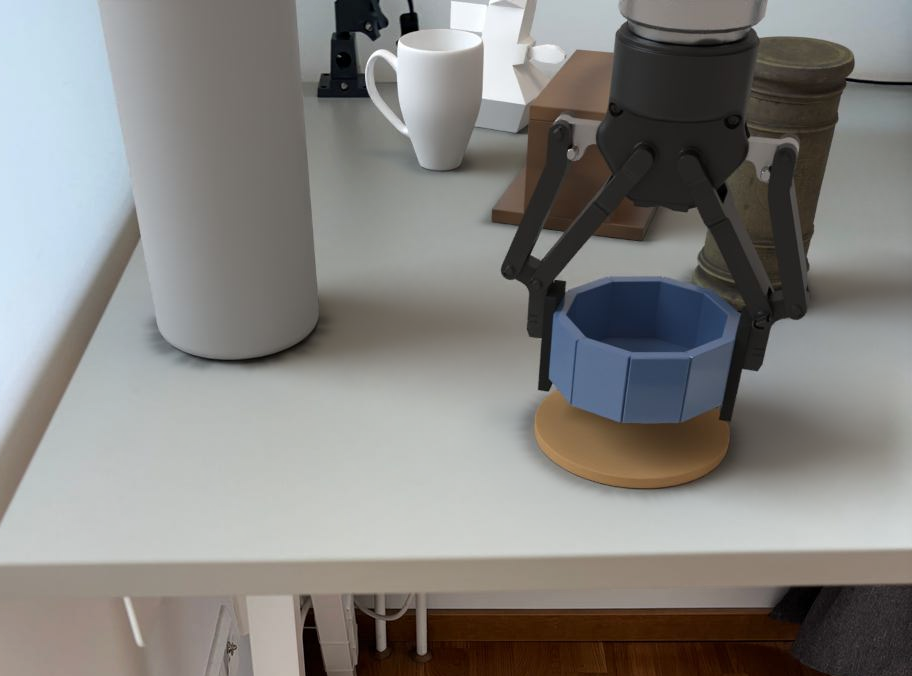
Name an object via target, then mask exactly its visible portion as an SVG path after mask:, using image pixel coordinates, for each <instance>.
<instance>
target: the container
mask: <svg viewBox="0 0 912 676" xmlns="http://www.w3.org/2000/svg"><path fill="white" fill-rule="evenodd" d="M759 39H760V44H759V50H758V55H757V61H756V66H755V72H754V77H753V82H752V88H751V93H750V99H749V104H748V110H747V117H746V119H747V127H748V130H749V133H750V136H752V137H762V138H772V139H780V138H781V137H782V136H783V135H784V134H786V133H793V134H796V135H797V136H798V138H799V140H800V147H799V152H798V157H797V161H796V166H795V171H794V175H793V178H794V185H795V192H796V199H797V206H798V212H799V219H800V226H801V233H802V240H803V247H804V254H805V261H806V267H807V274H808V273H809V271H810V262H809V259H808V253H809V249H810V246H811V240H812V238H813V236H814V233H815V223H814V222H815V218H816V213H817V209H818V205H819V199H820V196H821V195H820V194H821V189H822V185H823V181H824V177H825V173H826V169H827V165H828V161H829V157H830V151H831V147H832V143H833V140H834V135H835V130H836V125H837V124H838V122H839V120H840V118H839V108H840V104H841V100H842V99H841V98H842V95H843V93H844V90H845V89H846V88H847V85H848V84H847V79H846V78H848V77H850V76H851V74H852V73H853V71H854V70H855V65H856V60H855V54H854V52H853V51H852V50H851V49H850V48H849V47H847V46H845V45H843V44H840V43H837V42H834V41H830V40H826V39H822V38H821V39H820V38H814V37H807V36H789V35H788V36H787V35H785V36H781V35H779V36H776V35H775V36H763V37H759ZM726 181H727V183H728V185H729V188H730V190H731V192H732V195H733V198H734V203H735V206H736V208H737V211H738V213H739V215H740V217H741V219H742V221H743V224H744V226H745V228H746V230H747V232H748V235H749V237H750V239H751V241H752V243H753V246H754V248H755V250H756V252H757V254H758V257H759V259H760V261H761V263H762V265H763V268H764V270H765V272H766V274H767V276H768V279H769V281H770V283H771V285H772V287H773V289H774V292H775V291H780V290H782V287H781V281H780V274H779V268H778V262H777V256H776V249H775V243H774V237H773V231H772V224H771V218H770V212H769V206H768V184H769V183H764V182H761V181H760V180H759V179H758V178H757V175H756V168H755V165H754V164H753V163H752V162H750V161H747V160H745V161H744V162H743V164H742V165H741V166H740V167H739V168H738V169H737V170H736V171H735V172H734V173H733V174H732V175H731V176H730V177H729V178H728V179H727V180H726ZM696 261H697V265H696V266H695V268H694V270H693V273H692V279H691V280H692V285H696V286H700V287H703V288H707V289H710V290H712V291H714V292H715V293H717V294H718V295H719V296H720V297H721V298H722V299H724V300H725V301H726V302H727V303H728V304H729V305H731V306H732V307H733V308H734V309H735V310H736V311H738V312H742V308H743V306H746V305H745V303H744V301H743V299H742V297H741V294H740V292H739V290H738V288H737V286H736V284H735V282H734V280H733V277H732V275H731V273H730V271H729V269H728V267H727V265H726V263H725V261H724V258H723V256H722V254H721V252H720V250H719V248H718V246H717V244H716V241H715V239H714V237H713V235H712V233H711V231H710V229H709V228H707V229H706V235H705V240H704V245H703V246H702V248H701V250H699V252H698V254H697V258H696Z"/></svg>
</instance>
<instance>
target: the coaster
mask: <svg viewBox="0 0 912 676" xmlns="http://www.w3.org/2000/svg"><path fill="white" fill-rule="evenodd" d="M720 411H721V410H719V409H718V407H716V408H714V409H711V410H709V411H707V412H705V413H702V414H700V415H698V416H695V417H693V418H691V419H689V420H686V421H684V422H680V421H679V423H656V424H642V423H623V422H622V421H621V422H617V421H614V420H611V419H608V418H605V417H602V416H599V415H597V414H594V413H591V412H588V411H585V410H583V409H580V408H577V407H574V406H572V404H571V405H570V404H569V403H568V402H567V401H566V399H565V398H564V397H563V396H562V394H561V393H560V392H559V391H558V389H555V390H554V391H552V392H551V393H550V394H549V395H547V396H546V397H545V398H544V399H543V400H542V401H541V402H540V404H539V406H538V407H537V410H536V412H535V415H534V427H533V431H534V437H535V441H536V442H537V445H538V446H539V448H540V449H541V451H542V452H543V453H544V454H545V455H546V456H547V457H548V459H550V460H551V461H552V462H553V463H555V464H556V465H557V466H559V467H561V468H562V469H564V470H565V471H568V472H569V473H572V474H573V475H575V476H578V477H581V478H583V479H585V480H588V481H591V482H596V483H599V484H603V485H608V486H613V487H619V488H628V489H629V488H630V489H659V488H667V487H674V486H678V485H683V484H687V483H690V482H692V481H695V480H697V479H698V480H699V479H700V478H701V477H703V476H706V475H707V474H709V473H710V472H712V471H713V470H714V469H716V468H717V467H718V465H720V464H721V462H722V461H723V460H724V458H725V457H726V454H727V451H728V449H729V445H730V437H731V433H730V426H729V423H728V421H722V420H719V416H720Z"/></svg>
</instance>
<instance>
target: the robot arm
mask: <svg viewBox="0 0 912 676" xmlns="http://www.w3.org/2000/svg"><path fill="white" fill-rule="evenodd" d="M768 1H769V0H618V5H617V9H618V11H619V13H620V15H621V16H622V17H623V18H624V19H626V21H625V22H623V23H622V24H620V27H619V28H618V29H617V30H616V31H615V36H614V44H613V53H614V54H613V64H612V73H611V83H610V93H609V102H608V108H607V112H606V114H605V116H604V118H603V120H602V121H596V120H587V119H578V117H577V115H576V114H575V113H574V112H572V111H569V110H568V111H564V112H562V113H561V114H560V116H559V117H558V118H557V119H556V121H555V122H554V123H553V125H552V126H551V128H550V129H549V132H548V143H547V156H546V165H545V167H544V169H543V172H542V174H541V176H540V179H539V181H538V183H537V186H536V188H535V190H534V192H533V195H532V197H531V199H530V202H529V204H528V206H527V209H526V211H525V213H524V215H523V218H522V220H521V222H520V225H518V227H517V230H516V231H515V234H514V237H513V239H512V241H511V244H510V246H509V248H508V250H507V252H506V255H505V257H504V259H503V261H502V264H501V266H500V274H501V276H502V277H503V279H505V280H508V281H514V280H516V281H517V282H520V283H521V284H523V285H524V286H525V287H526V289H527V291H528V303H527V319H526V320H527V321H526V331H527V334H528V337H529V338H535V339H541V341H540V353H539V355H540V356H539V367H538V368H539V369H538V370H539V371H538V380H537V391H541V392H546V393H550V390H551V388H552V386H553V385H554V384H553V383H552V382H551V381H550V379H549V367H550V353H551V340H552V327H553V315H554V313H555V311H556V310H557V308H558V306H559V304H560V302H561V300H562V299H563V297H564V295H565V293H566V291H567V290H566V289H567V280H561V279H556V278H557V277H558V276H560V274H561V273H562V271H563V270H564V269H565V268H566V267H567V266H568V264H569V263H570V262H571V261H572V260H573V258H574V257H575V256H576V255H577V254H578V252H579V251H580V250H581V249H582V248H583V247H584V245H585V244H586V243H587V242H588V240H590V238H591V237H592V236H593V233H594V232H595V231H596V230H597V229H598V228H599V226H600V225H601V224H602V223H603V222H604V220H605V219H606V218H607V217H608V216H609V215H610V214H611V213H612V212H613V211H614V210H615V209H616V207H617V206H618V205H619V204H620V203H621V202H622V200H623V199H624V198H625V197H626V198H627V199H629V200H630V201H632V202H634V206H637V207H645V208H648V207H655V206H658V207H663V208H666V209H668V210H670V211H673V212H678V213H679V212H680V213H688V212H689V210H693V209H697V212H698V214H699V216H700V218H701V220H702V222H703V224H704V226H705V227H706V228H707V229H708V228H709V229H710V231H711V233H712V235H713V237H714V239H715V241H716V244H717V246H718V248H719V250H720V252H721V254H722V256H723V258H724V261H725V263H726V265H727V267H728V269H729V271H730V273H731V275H732V277H733V280H734V282H735V284H736V286H737V288H738V290H739V292H740V294H741V297H742V299H743V301H744V303H745V305H746V306H743V308H742V311H740V319H739V323H738V327H737V332H736V339H735V344H734V349H733V354H732V359H731V364H730V369H729V374H728V379H727V384H726V389H725V394H724V399H723V403H722V404H721V405H720V410H719V411H720V416H719V420H722V421H727V423H728V422H729V423H730V422H732V419H733V413H734V409H735V405H736V402H737V396H738V391H739V387H740V383H741V378H742V373H743V370H744V371H751V372H752V371H753V372H759V370H760V369H761V368H762V366H763V364H764V361H765V356H766V351H767V346H768V343H769V338H770V333H771V329H772V327H773V325H774V324H775V323H777V322H778V321H781V320H785V319H789V320H792V321H798V320H801V319H803V318H804V317H806V315H807V312H808V308H809V307H808V306H809V301H810V296H811V288H810V284H809V283H810V282H809V275H808V273H807V267H806V261H805V254H804V247H803V240H802V233H801V226H800V219H799V212H798V206H797V199H796V192H795V185H794V178H793V175H794V171H795V166H796V161H797V157H798V152H799V147H800V140H799V138H798V136H797V135H796V134H793V133H786V134H784V135H783V136H782V137H781V138H780V139H772V138H762V137H752V136H750V133H749V130H748V127H747V119H746V117H747V110H748V104H749V99H750V93H751V88H752V82H753V77H754V72H755V66H756V61H757V55H758V50H759V44H760V39H759V38H760V37H759V36H758V33H757V31H756V30H755V29H754V28H753V27H755V26H756V25H758V24H759V23H760V22H761V21H762V20H763V19H764V18H765V17H766V13H767V12H766V11H767V8H768V7H767V6H768V3H769V2H768ZM592 144H597V147H598V149H599V151H600V153H601V155H602V157H603V158H604V160H605V162H606V164H607V166H608V168H609V169H610V171H611V173H612V174H611V176H610V177H609V178H608V179H607V181H606V182H605V183H604V185H603V186H602V187H601V189H600V190H599V191H598V192H597V193H596V195H595V196H594V197H593V198H592V200H591V201H590V202H589V203H588V204H587V206H586V207H585V208H584V209H583V210H582V212H581V213H580V214H579V215H578V217H577V218H576V219H575V220H574V221H573V223H572V224H571V225H570V226H569V227H568V229H567V230H566V231H563V233H562V235H560V237H559V238H558V239H557V241H556V242H555V243H554V244H553V246H552V247H551V248H550V249H549V251H547V253H546V254H545V255H544V257H543V258H541V259H539V258H537V257H535V256H534V255H532V253H533V251H534V249H535V246H536V244H537V242H538V240H539V237H540V235H541V233H542V231H543V229H544V228H543V226H544V224H545V222H546V220H547V217H548V215H549V213H550V211H551V209H552V206H553V204H554V202H555V200H556V198H557V195H558V193H559V191H560V189H561V187H562V184H563V182H564V180H565V178H566V176H567V173H568V171H569V169H570V167H571V164H572V161H577V160H579V159H581V157H582V156H583V155H584V153H585V151H586V149H587V147H588V146H589V145H592ZM745 160H747V161H750V162H752V163H753V164H754V165H755V168H756V175H757V178H758V179H759V180H760V181H761V182H764V183H769V184H768V206H769V212H770V218H771V224H772V231H773V237H774V243H775V249H776V256H777V262H778V268H779V274H780V281H781V287H782V290H780V291H775V292H774V289H773V287H772V285H771V283H770V281H769V279H768V276H767V274H766V272H765V270H764V268H763V265H762V263H761V261H760V259H759V257H758V254H757V252H756V250H755V248H754V246H753V243H752V241H751V239H750V237H749V235H748V232H747V230H746V228H745V226H744V224H743V221H742V219H741V217H740V215H739V213H738V211H737V208H736V206H735V203H734V198H733V195H732V192H731V190H730V188H729V185H728V183H727V181H726V180H727V179H728V178H729V177H730V176H731V175H732V174H733V173H734V172H735V171H736V170H737V169H738V168H739V167H740V166H741V165H742V164H743V162H744V161H745Z"/></svg>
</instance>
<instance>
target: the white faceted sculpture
mask: <svg viewBox="0 0 912 676" xmlns="http://www.w3.org/2000/svg"><path fill="white" fill-rule="evenodd" d="M537 3H538V0H489V2H488V5H487V4H481V3H473V2H464V1H457V0H450V21H449V22H450V27H449V29H451V30H460V31H466V32H474V33H481V36H480V38H481V39H482V40H483V44H484V64H483V92H482V101H481V106H480V111H479V114H478V117H477V121H476V124H475V126H474V127H476V128H483V129H487V130H494V131H501V132H506V133H507V132H508V133H515V134H517V133H519V132H520V131H521V130H522V129H524V128H525V127H526V126H527V125H529V110H530V104H531V103H532V102H533V101H534V100H535V98H536V97H537V96H538V95H539V94H540V92H541V91H542V90H543V89H544V88H545V86H546V85H547V84H548V83H549V82H550V81H551V79H549V78H548V76H546V75H545V74H544V73H543V72H542V71H541V70H540V69H539V68H538V67H536V66H535V65H534V63H532V62H531V61H530V60H531V59H533V60H535V61H537V62H540V63H544V64H545V63H546V64H554V65H556V64H558V63H560V62H562V61H564V60H565V59H567V56H568V53H567V52H566V51H564V50H563V49H562V48H561V47H560V46H558V45H557V44H549V43H547V44H541V45H536V43H537V39H535V38H534V37H532V36H531V32H532V28H533V23H534V19H535V14H536V11H537V10H536V9H537Z"/></svg>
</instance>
